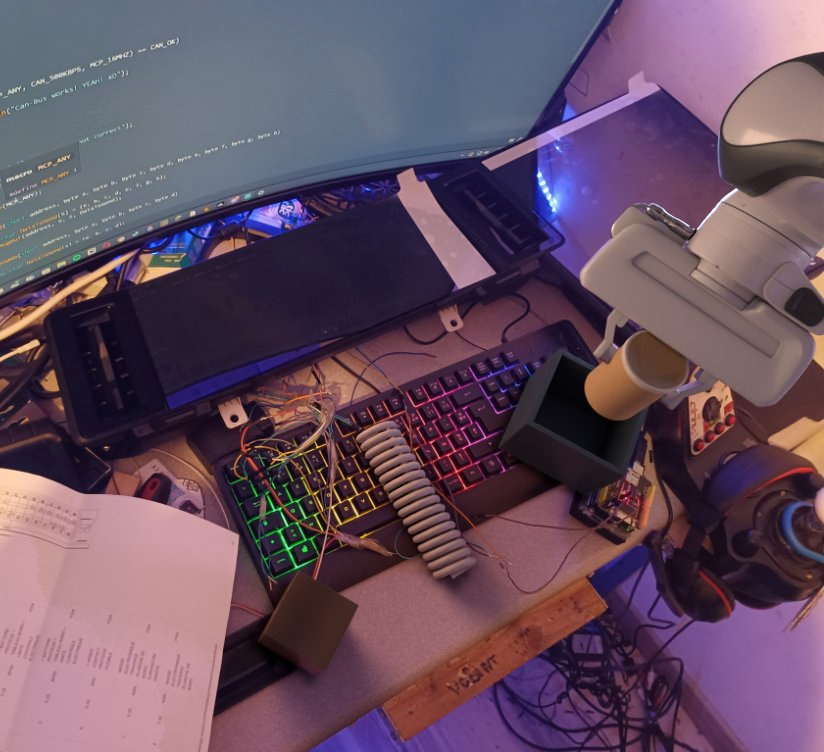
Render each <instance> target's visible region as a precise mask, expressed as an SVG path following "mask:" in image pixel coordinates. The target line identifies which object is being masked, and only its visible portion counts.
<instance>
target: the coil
mask: <svg viewBox="0 0 824 752" xmlns="http://www.w3.org/2000/svg"><path fill="white" fill-rule="evenodd" d="M397 426H398V425H397V423H396V422H395V421H393V420H386V421H382V422H380V423H377V424H374V425H373V426H371V427H367V428H366V429H364V430H363V431H362V432H360V433H358V434H357V436H356V437H355V441H356V443H358V444H361V445H360V451H363V452H365V454H364V456H365V459H367V460H369V465H370V467H371V468H375V469H374V470H373V471H374V474H375V475H376V476H380V477H379V478H378V481H379V483H380V484H385V485H384V486H383V490H384V492H386V493H389V494H388V499H389V500H390V501H394V500H395V501H394V502H393V505H392V506H393V508H394V509H399V511H398V512H397V516H399V517H400V518H404V517H405V518H404V519H403V520H402V524H403V525H404V526H406V527H408V526H409V527H408V529H407V532H408V534H410V535H414V536H413V537H412V541H413V543H415V544H418V543H419V544H418V545H417V550H418V551H419V552H420V553H423V554H422V559H423V560H424V561H427V562H428V561H429V562H428V563H427V568H428V569H429V570H431V571H433V572H432V577H433V578H434V579H435V580H436V579H437V580H439V579H442V578H445V577H447V576H450V578H451V580H454V579H455V578H456V577H458V576H460V575H461V574H463V573H464V572H466V571H467V570H469V569H470V568H471V567H473V566H474V565H475V564H476V563H477V558H476V557H475V556H472V555H471V553H472V551H471V550H472V549H471V548H469V547H467V546H466V542H467V541H466V539H464V538H460V537H461V531H460V530H459V529H455V528H456V523H455V521H453V520H450V519H451V514H450V512H447V511H446V506H445V504H443V503H440V502H441V497H440V496H439V495H438V494H435V493H436V489H435V488H434V487H433V486H430V485H431V480H430V479H429V478H426V471H424V470H423V469H421V464H420V462H418V461H416V455H415V454H414V453H411V451H412V448H411V447H410V446H409V445H407V440H406V438H405V437H402V431H401V430H400V429H398V428H397ZM384 430H385V431H384ZM398 465H399V466H398ZM399 475H401V476H399ZM396 477H397V478H396ZM401 485H403V486H401ZM399 486H400V487H399ZM407 493H408V494H407ZM405 494H406V495H405ZM400 497H401V498H400ZM407 504H408V505H407ZM403 506H404V507H403ZM402 507H403V508H402ZM400 508H401V509H400ZM406 516H407V517H406ZM410 525H411V526H410ZM465 546H466V547H465ZM470 555H471V556H470Z"/></svg>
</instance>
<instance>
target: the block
mask: <svg viewBox="0 0 824 752" xmlns="http://www.w3.org/2000/svg"><path fill="white" fill-rule="evenodd" d="M359 607H360V604H358V603H356V602H355V601H353V600H351V599H349V598H348V597H346V596H344V595H342V594H340V593H339V592H338V591H336V590H335V589H332V588H330V587H328V586H327V585H326V584H324V583H322V582H320V581H318V580H317V579H315V578H313V577H311V576H310V575H308V574H307V573H305V572H303V571H301V570H298V571H297V572H296V573H295V575H293V578H292V579H291V581H290V582H289V583H288V585H287V586H286V588H285V590H284V592H283V594H282V596H281V597H280V599H279V601H278V603H277V605H276V607H275V609H274V611H273V612H272V614H271V616H270V618H269V620H268V621H267V623H266V625H265V626H264V629H263V630H262V633H261V634H260V636H259V638H258V640H257V643H258V644H260V645H261V646H263V647H265V648H266V649H269V650H270V651H272V652H273V653H275V654H277V655H278V656H280V657H282V658H283V659H286V660H287V661H289V662H291V663H292V664H294V665H296V666H297V667H299V668H301V669H302V670H304V671H306V672H307V673H309V674H317V673H323V672H327V671H328V669H329V668H330V665H331V664H332V661H333V659H334V657H335V655H336V653H337V652H338V649H339V647H340V645H341V643H342V641H343V639H344V637H345V635H346V633H347V631H348V629H349V627H350V625H351V623H352V621H353V619H354V617H355V614H356V612H357V611H358V608H359Z"/></svg>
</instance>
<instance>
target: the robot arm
mask: <svg viewBox="0 0 824 752" xmlns="http://www.w3.org/2000/svg"><path fill="white" fill-rule="evenodd" d="M718 131H719V132H718V139H717V163H718V172H719V173H718V174H719V176H720V179H721V180H722V181H723V182H724V183H727V184H728V185H730V186H731V187H733V188H734V189H733V190H731V192H729V193H728V194H726V195H725V196H724V197H723V198H721V199H720V201H719V202H718V203H717V204H716V206H715V207H713V209H712V210H711V212H710V213H708V215H707V216H706V218H704V220H703V221H702V222H701V223H700V225H699V226H698V227H697V228H696V229H695V228H693V227H692V226H690V225H689V224H687V223H686V222H684V221H682V220H681V219H679V218H677V217H675V216H673V215H671V214H669V213H668V212H667V211H666V210H665V209H664V208H663V207H661V206H659V205H658V204H656V203H653V202H652V203H650V204H647V203H643V202H642V203H640V202H639V203H633V204H631V205H629V206H627V207H626V208H624V209H623V211H622V212H621V213H620V215H619V216H617V219H616V220H615V221H614V222H613V224H612V226H611V228H610V239H608V240H607V241H606V242H605V243H604V244H603V245H602V246H601V247H600V248H599V249H598V250H597V251H596V252H595V253H594V255H592V256H591V257H590V259H589V260H588V261H587V262H586V263H585V264H584V266H583V267H582V268H581V270H580V271H579V281H580V284H581V286H582V287H583V288H585V289H586V290H587V291H589V292H591V293H592V294H593V295H595V296H596V297H598V298H599V299H601V300H602V301H603V302H605V303H606V304H608V305H610V307H612V308H613V310H612V311H611V312H610V313H609V314H608V316H607V319H606V323H605V324H606V325H605V332H604V339H603V340H602V341H601V343H600V344H599V345H598V346H597V347H596V348H595V350H594V352H593V357H595V358H597V360H599V361H601V363H602V362H604V363H605V364H608V363H609V362H610V361H611V357H613V356H614V355H615V354H616V353H617V351H618V350H619V348H620V347H619V346H617V345H616V344H615V343H614V338H615V331H616V326H617V327H618V328H620V329H621V328H623V327H624V326H625V325H626V324H627V322H629V320H631V321H633V322H634V323H635V324H637V325H638V326H640V327H641V328H642V329H643V330H647V331H648V332H650V333H651V334H653V335H654V336H656V337H657V338H659V339H660V340H661V341H663V342H664V343H666V344H667V345H669V346H670V347H672V348H673V349H674V350H676V351H677V352H679V353H680V354H682V355H683V356H685V357H686V358H687V359H688V361H690V362H691V363H693V364H695V365H696V366H697V367H699V368H698V369H697V370H696V371H695V372H694V374H693V377H694V379H695V380H694V381H691V382H688V383H686V384H683V385H682V386H681V387H680V388H678V389H677V390H675V391H673V392H670V393H667V394H666V395H664V396H663V397H661V398H660V399H658V400H657V402H659V403H660V404H662V405H663V406H664V407H666V408H667V409H668V410H670V411H673V410H674V409H675V408H677V406H678V405H679V404H680V403H681V402H682V401H683V400H684V399H685V398H689V397H692V396H695V395H698V394H702V393H704V392H708V391H710V390H711V389H712V388H713V387H714V386H715V385H716V384H717V383H718V381H719V382H720V383H722V384H724V385H725V386H727V387H728V388H729V389H731V390H732V391H733V392H735V393H737V394H738V395H740V396H741V397H742V398H744V399H745V400H747V401H748V402H750V403H751V404H752V405H754V406H755V407H757V408H765V407H770V406H774V405H775V404H778V402H779V401H780V400H781V399H782V398H783V397H784V396H785V395H786V394H787V393H788V392H789V391H790V389H791V388H792V387H793V386H794V385H795V384H796V383H797V382H798V380H799V379H800V377H802V375H803V374H804V373H805V371H806V370H807V369H808V367H809V366H810V364H811V362H812V361H813V359H814V357H815V355H816V354H815V353H816V350H817V343H816V340H815V338H814V336H813V335H816V336H824V297H823V296H822V295H821V293H820V292H819V290H818V289H817V288H816V286H815V285H814V284H813V282H812V281H811V280H810V278H809V277H808V276H807V274H806V273H805V272H804V271H805V270H806V269H807V267H808V266H809V265H810V264H811V263H812V262H813V261H814V260H815V258H816V256H817V255H818V253H819V252H820V251H821V250H822V249H824V51H817V52H812V53H808V54H802V55H799V56H796V57H793V58H789V59H786V60H784V61H781V62H778V63H776V64H774V65H772V66H771V67H769V68H767V69H766V70H764V71H763V72H761V73H759V74H758V75H757V76H755V78H753V79H752V80H750V82H749V83H748V84H747V85H745V86H744V88H742V89H741V91H740V92H739V93H738V94H737V95H736V96H735V97H734V99H733V100H732V102H731V103H730V104H729V106H728V108H727V109H726V111H725V113H724V115H723V117H722V119H721V122H720V126H719V130H718ZM641 209H644V210H645V211H642V210H641Z"/></svg>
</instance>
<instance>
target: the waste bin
mask: <svg viewBox="0 0 824 752" xmlns="http://www.w3.org/2000/svg"><path fill="white" fill-rule="evenodd" d="M595 368H596V367H595V366H594V365H591V364H589V363H588V362H586V361H585V360H582V359H580V358H579V357H577V356H574V355H573V354H571V353H569V352H568V351H565V350H563V349H562V348H558V349H556V351H555V352H553V353H552V355H551V356H550V357H549V358H547V360H546V361H544V362H543V364H541V365H540V366H539V368H538V369H536V370H535V372H534V373H533V374H531V376H529V377H528V380H527V382H526V383H525V386H524V389H523V391H522V392H521V395H520V398H519V400H518V402H517V404H516V407H515V409H514V411H513V413H512V415H511V418H510V420H509V422H508V424H507V426H506V429H505V431H504V434H503V435H502V438H501V440H500V442H499V445H498V449H500V450H501V451H504V452H505V453H507V454H509V455H510V456H513V457H514V458H516V459H518V460H519V461H521V462H523V463H525V464H526V465H529V466H530V467H533V468H534V469H536V470H537V471H540V472H541V473H543V474H545V475H546V476H549V477H550V478H552V479H554V480H556V481H558V482H559V483H561V484H563V485H565V486H567V487H569V488H571V490H574V491H576V492H577V493H580V494H581V495H583V496H585V497H589V496H591V495H593V494H595V493H596V492H598V491H600V490H603V489H604V488H607V487H608V486H610V485H612V484H614V483H616V482H618V481H620V480H621V479H623V478H625V477H626V474H627V471H628V468H629V465H630V462H631V459H632V457H633V453H634V451H635V449H636V445H637V443H638V440H639V437H640V434H641V431H642V429H643V425H644V423H645V420H646V417H647V414H648V411H649V409H650V406H651V404H650V405H649V406H647V407H646V408H644V409H643V410H641V411H640V412H638V413H637V414H635V415H634V416H632V417H630V418H628V419H626V420H611V419H608V418H606V417H603V416H602V415H600V414H599V413H598V412H596V411H595V410H594V409H593V407H592V406H591V405H590V403H589V402H588V400H587V397H586V394H585V382H586V379H587V377H588V375H589V374H590V373H591V372H592V371H593V370H594V369H595ZM588 492H589V493H588ZM590 493H592V494H590Z"/></svg>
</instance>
